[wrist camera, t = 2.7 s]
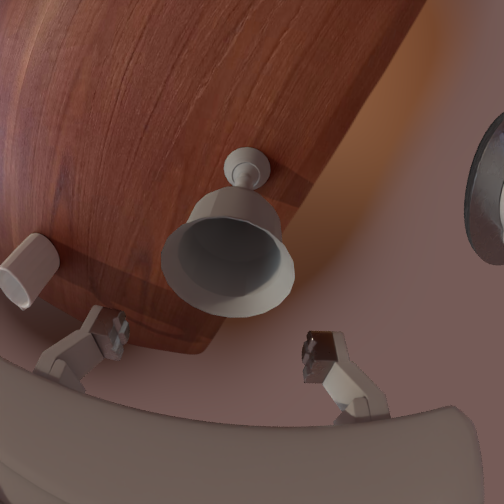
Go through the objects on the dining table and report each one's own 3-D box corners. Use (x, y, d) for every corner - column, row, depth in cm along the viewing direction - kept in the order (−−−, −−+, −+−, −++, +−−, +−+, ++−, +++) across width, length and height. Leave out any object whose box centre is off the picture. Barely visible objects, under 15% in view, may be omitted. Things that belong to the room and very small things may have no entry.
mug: (30, 273, 41) (4, 307, 33) (27, 225, 35) (-8, 259, 27) (60, 291, 43) (36, 329, 35) (60, 244, 37) (26, 283, 29)
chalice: (206, 185, 31) (153, 295, 16) (225, 130, 27) (173, 196, 12) (267, 206, 32) (266, 329, 17) (290, 153, 28) (318, 245, 14)
